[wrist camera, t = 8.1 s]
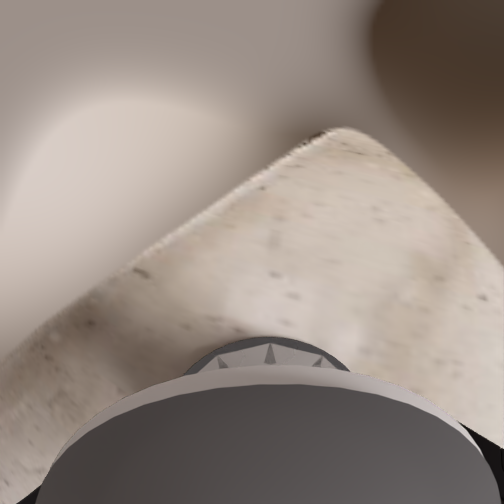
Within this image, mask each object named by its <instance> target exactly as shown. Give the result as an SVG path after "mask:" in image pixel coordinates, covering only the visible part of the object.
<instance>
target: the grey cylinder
mask: <svg viewBox="0 0 504 504" xmlns="http://www.w3.org/2000/svg"><path fill="white" fill-rule="evenodd" d="M35 504H501V499H500V494H499V489H498V485H497V482H496V480H495V477H494V475H493V473H492V471H491V468H490V466H489V464H488V463H487V462H486V460H485V459H484V457H483V455H482V452H481V450H480V448H479V447H478V446H477V444H476V443H475V441H474V440H473V439H472V437H471V436H470V434H469V433H468V432H467V430H466V429H465V428H463V427H462V426H461V425H460V424H459V423H458V422H457V421H456V420H455V419H454V418H453V417H452V416H451V415H450V414H449V413H447V412H446V411H444V410H443V409H441V408H440V407H438V406H437V405H435V404H434V403H433V402H431V401H430V400H428V399H427V398H425V397H422V396H420V395H418V394H416V393H414V392H412V391H410V390H408V389H406V388H404V387H402V386H399V385H396V384H393V383H390V382H387V381H384V380H381V379H378V378H374V377H371V376H368V375H363V374H358V373H353V372H348V371H343V370H338V369H332V368H321V367H311V366H301V365H256V366H246V367H235V368H224V369H217V370H212V371H207V372H202V373H197V374H192V375H186V376H182V377H179V378H176V379H173V380H170V381H166V382H163V383H160V384H156V385H153V386H150V387H148V388H146V389H143V390H141V391H139V392H137V393H134V394H132V395H130V396H127V397H125V398H123V399H121V400H119V401H118V402H116V403H114V404H113V405H111V406H109V407H108V408H106V409H104V410H103V411H101V412H99V413H98V414H97V415H95V416H94V417H93V418H92V419H91V420H89V421H88V422H87V423H86V424H85V425H83V426H82V427H81V428H80V429H78V430H77V431H76V433H75V434H74V435H73V436H72V437H71V438H70V440H69V441H68V442H67V443H66V444H65V445H64V446H63V448H62V449H61V451H60V452H59V454H58V456H57V457H56V459H55V461H54V463H53V464H52V466H51V468H50V470H49V472H48V474H47V476H46V477H45V479H44V481H43V483H42V485H41V488H40V491H39V494H38V497H37V500H36V503H35Z"/></svg>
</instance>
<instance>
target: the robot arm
mask: <svg viewBox="0 0 504 504" xmlns="http://www.w3.org/2000/svg"><path fill="white" fill-rule="evenodd" d="M457 422H458V421H457ZM458 423H459V424H460V425H461V426H462V427H463V428H465V429H466V430H467V432H468V433H469V434H470V436H471V437H472V439H473V440H474V441H475V443H476V444H477V446H478V447H479V448H480V450H481V452H482V455H483V457H484V459H485V460H486V462H487V463H488V464H489V466H490V468H491V471H492V473H493V475H494V477H495V480H496V482H497V485H498V489H499V494H500V499H501V504H504V449H503V448H500V446H498V445H496V444H494V443H493V442H491V441H489V440H488V439H486V438H484V437H483V436H481V435H479V434H478V433H476V432H474V431H473V430H471V429H470V428H468V427H466V426H465V425H463V424H461V423H460V422H458ZM40 488H41V485H40V486H39V487H38V488H36V489H35V490H34V491H33V492H32V493H30V494H29V495H28V496H26V497H25V498H24V499H22V500H21V501H19V502H18V503H16V504H35V503H36V500H37V497H38V494H39V491H40Z"/></svg>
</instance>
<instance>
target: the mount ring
mask: <svg viewBox="0 0 504 504" xmlns="http://www.w3.org/2000/svg"><path fill="white" fill-rule="evenodd" d="M256 365H301V366H311V367H321V368H332V369H338V370H343V371H348V372H350V371H349V370H348V369H347V368H346V367H345V365H343V364H342V363H341V362H340V361H338V360H337V359H336V358H335V357H333V356H332V355H330V354H328V353H327V352H325V351H323V350H321V349H319V348H317V347H315V346H312V345H310V344H307V343H304V342H301V341H297V340H292V339H286V338H276V337H263V338H252V339H247V340H241V341H238V342H235V343H231V344H228V345H226V346H224V347H221V348H219V349H217V350H215V351H213V352H211V353H210V354H208V355H206V356H205V357H203V358H202V359H201V360H199V361H198V362H197V363H195V364H194V365H193V366H192V367H191V368H190V369H189V370H188V371H187V372H186V373H185V374H184V375H183V376H186V375H192V374H197V373H202V372H207V371H212V370H217V369H224V368H235V367H246V366H256Z"/></svg>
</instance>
